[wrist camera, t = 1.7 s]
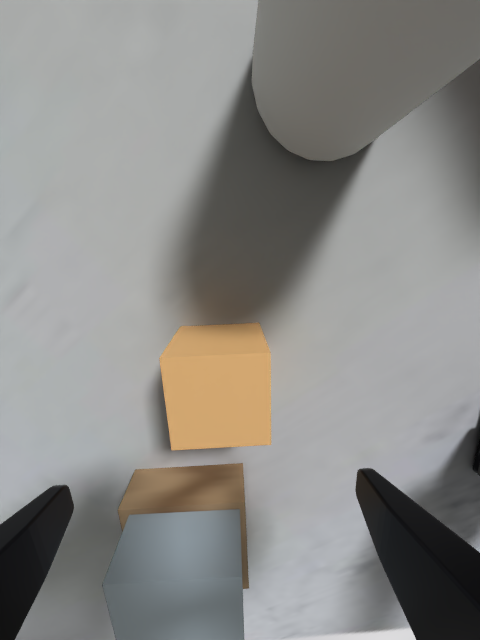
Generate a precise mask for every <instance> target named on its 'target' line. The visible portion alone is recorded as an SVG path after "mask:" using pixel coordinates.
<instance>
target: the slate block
mask: <svg viewBox="0 0 480 640" xmlns="http://www.w3.org/2000/svg"><path fill="white" fill-rule="evenodd" d="M102 586H103V590H104V594H105V598H106V602H107V606H108V610H109V614H110V618H111V622H112V626H113V630H114V634H115V638H116V640H244V617H243V587H242V556H241V526H240V509H232V510H212V511H193V512H173V513H154V514H134V515H129V517H128V519H127V522H126V524H125V527H124V530H123V532H122V535H121V537H120V540H119V543H118V545H117V548H116V550H115V553H114V556H113V558H112V561H111V563H110V566H109V569H108V571H107V574H106V577H105V579H104V582H103V584H102Z"/></svg>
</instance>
